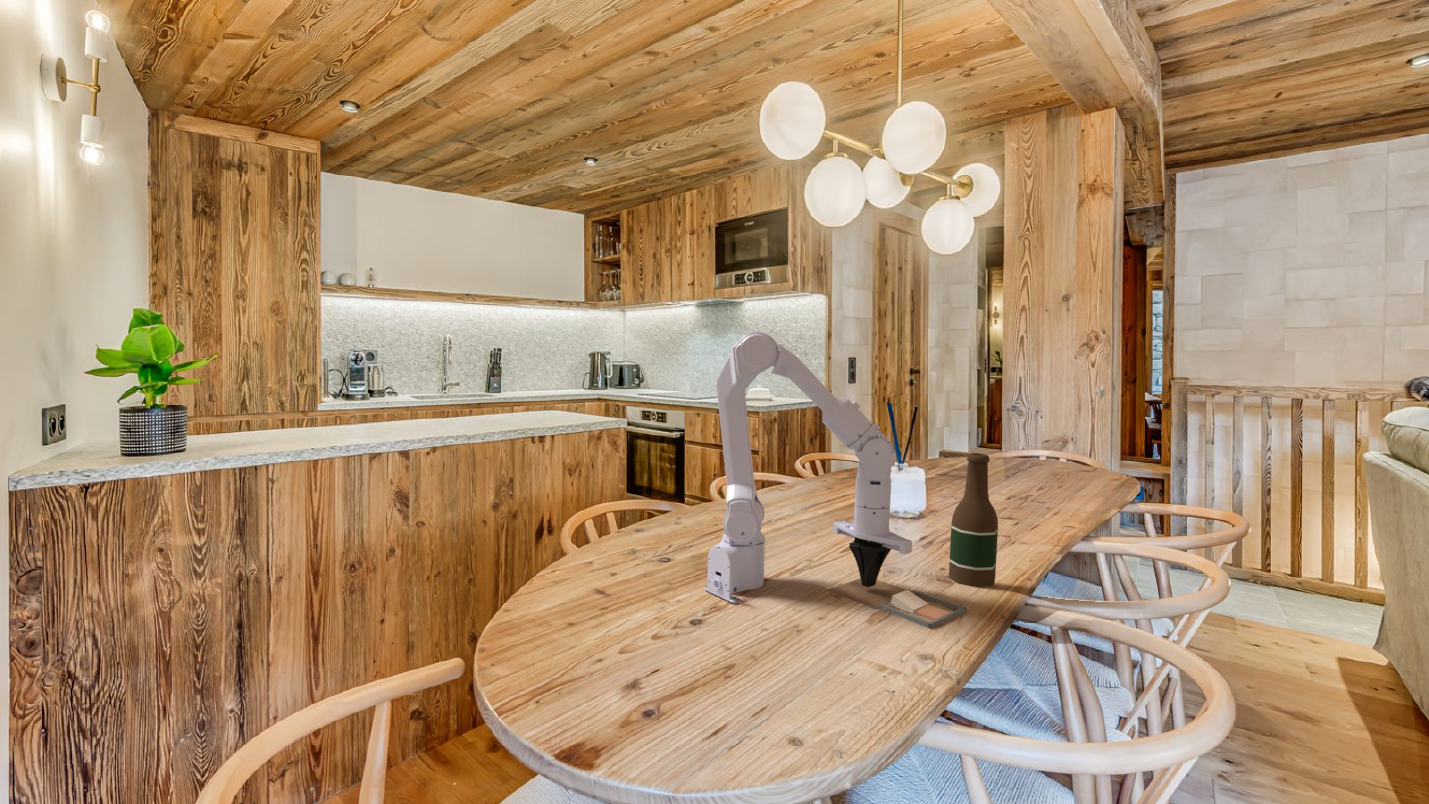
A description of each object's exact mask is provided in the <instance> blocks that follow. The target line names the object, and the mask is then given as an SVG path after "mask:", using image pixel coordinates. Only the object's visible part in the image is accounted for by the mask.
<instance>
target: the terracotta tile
mask: <svg viewBox="0 0 1429 804" xmlns="http://www.w3.org/2000/svg"><path fill="white" fill-rule="evenodd" d="M951 612H952V611H948V610H945V609H942V608H939V607H937V606H933V605H931V604H928V605H927V606H924V607H922V608H919V609H917V610H915V611H914V613H913V614H916V615H919V616H921V617H924V618H927V619H930V620H931V621H933V620H935V619H937V618H939V617H942V616H944V615H946V614H949V613H951Z"/></svg>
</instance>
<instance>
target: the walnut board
mask: <svg viewBox="0 0 1429 804" xmlns="http://www.w3.org/2000/svg"><path fill="white" fill-rule="evenodd" d="M906 590H907V589H906V588H902V587H899V586H897V585H893V584H891V583H888V582H885V581H882V580H880V579H877V581H876V584H875V585H874V586H871V587H866V586H863V585H862V583H861V578H858V579H855V580H852V581H849V582H846V583H843V584H840V585H837V586H834V587H830V588H828V589H826V591H828V592H831V593H833V594H836V595H839V596H842V597H844V598H847V599H849V600H852V601H854V602H857V603H859V604H860V605H861V604H862V605H864V606H867V607H870V608H872V609H874V610H877V609H879V604H884V605H889V604H890V603H891V599H892V596H893V595H895V594H898V593H900V592H903V591H906ZM909 591H910V592H911V593H913V594H914V591H911V590H909Z"/></svg>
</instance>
